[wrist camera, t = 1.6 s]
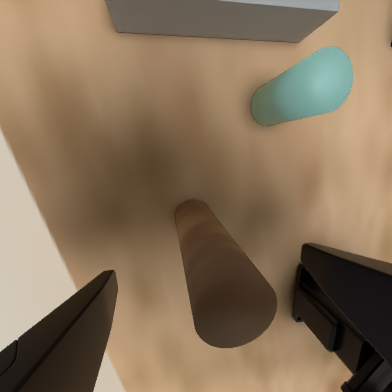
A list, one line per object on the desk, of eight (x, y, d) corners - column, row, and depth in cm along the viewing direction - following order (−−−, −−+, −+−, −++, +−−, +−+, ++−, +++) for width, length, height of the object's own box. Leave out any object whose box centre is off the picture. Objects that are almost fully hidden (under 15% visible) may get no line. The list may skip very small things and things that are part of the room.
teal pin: (287, 84, 13) (357, 48, 9) (284, 125, 14) (347, 112, 9) (251, 83, 13) (304, 44, 8) (250, 126, 14) (297, 113, 9)
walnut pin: (209, 197, 14) (280, 269, 6) (210, 230, 15) (274, 338, 6) (173, 200, 14) (192, 283, 5) (176, 234, 15) (196, 356, 6)
